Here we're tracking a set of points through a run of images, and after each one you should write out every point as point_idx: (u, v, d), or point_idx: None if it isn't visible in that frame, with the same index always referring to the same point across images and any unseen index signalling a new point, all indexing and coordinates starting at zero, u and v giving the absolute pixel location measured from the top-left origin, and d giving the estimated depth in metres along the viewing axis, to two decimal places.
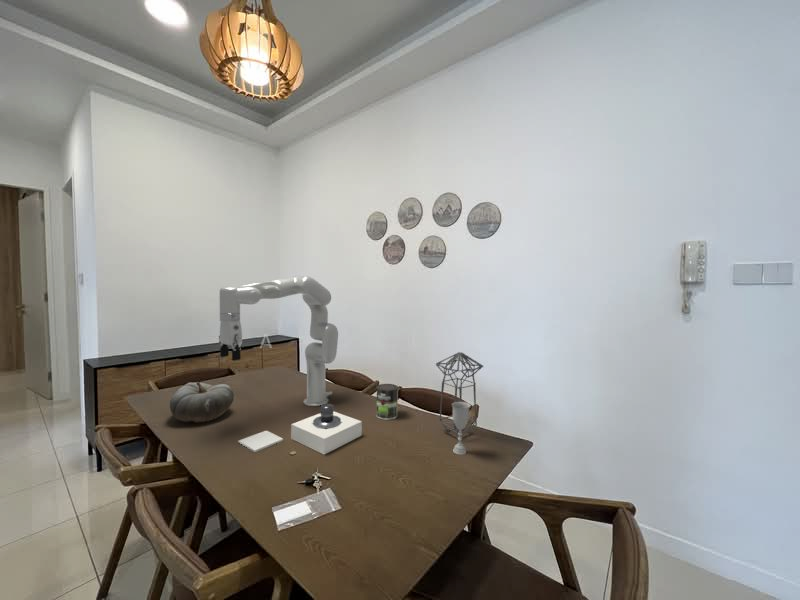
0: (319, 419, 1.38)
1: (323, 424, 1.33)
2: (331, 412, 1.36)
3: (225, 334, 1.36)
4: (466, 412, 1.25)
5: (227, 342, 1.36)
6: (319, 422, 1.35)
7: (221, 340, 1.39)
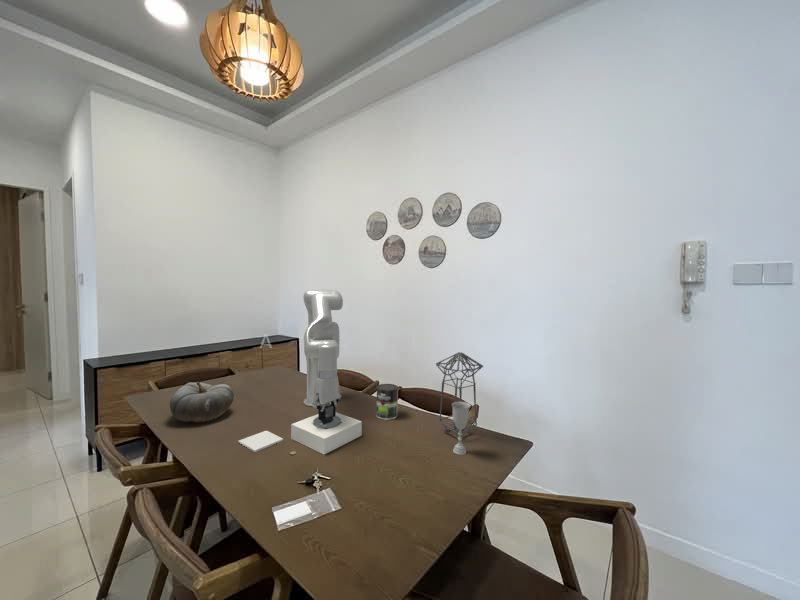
0: None
1: (323, 424, 1.33)
2: (331, 412, 1.36)
3: (333, 391, 1.36)
4: (466, 412, 1.25)
5: (334, 397, 1.37)
6: (319, 422, 1.35)
7: (325, 400, 1.33)
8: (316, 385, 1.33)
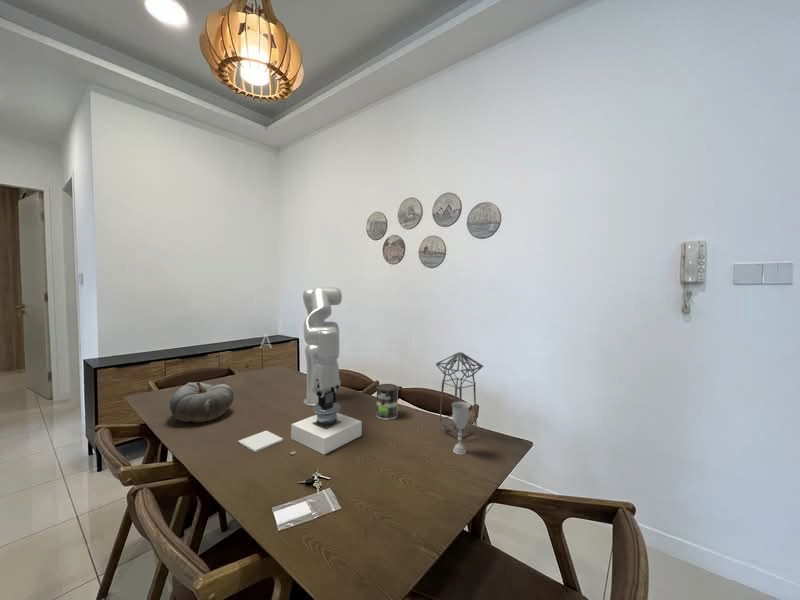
0: None
1: (323, 410, 1.33)
2: (331, 398, 1.36)
3: (333, 377, 1.36)
4: (466, 412, 1.25)
5: (334, 384, 1.37)
6: (319, 408, 1.35)
7: (325, 386, 1.33)
8: (316, 371, 1.33)
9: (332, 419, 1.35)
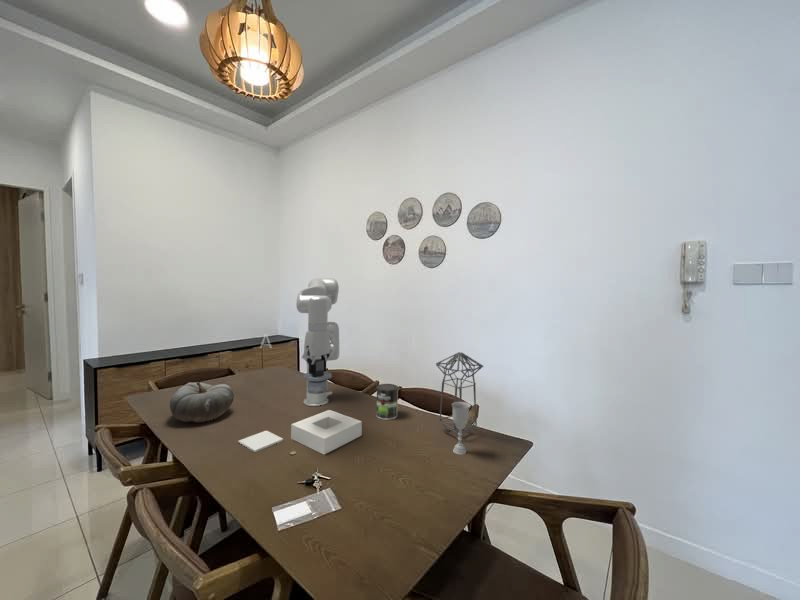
0: (309, 374, 1.36)
1: (313, 377, 1.32)
2: (322, 366, 1.34)
3: (323, 344, 1.34)
4: (466, 412, 1.25)
5: (324, 352, 1.35)
6: (309, 376, 1.33)
7: (315, 353, 1.32)
8: (306, 338, 1.31)
9: (323, 387, 1.33)
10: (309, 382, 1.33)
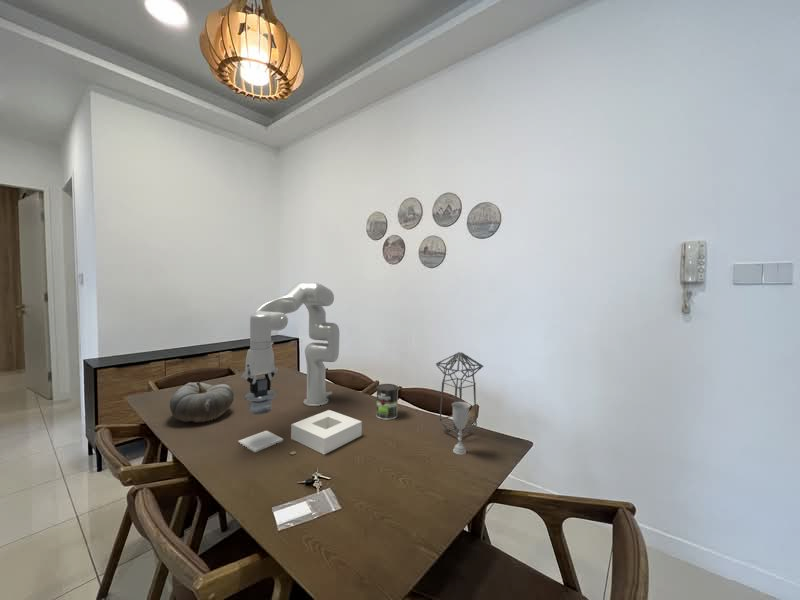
0: None
1: (254, 397, 1.27)
2: (264, 385, 1.30)
3: (266, 363, 1.30)
4: (466, 412, 1.25)
5: (268, 370, 1.31)
6: (251, 395, 1.29)
7: (256, 372, 1.27)
8: (247, 356, 1.27)
9: (265, 407, 1.29)
10: (250, 402, 1.28)
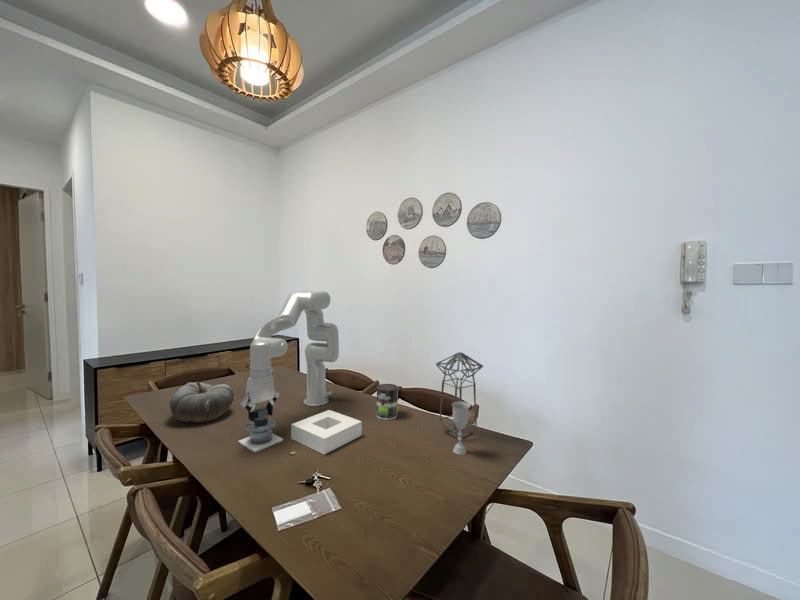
0: (253, 422, 1.33)
1: (255, 427, 1.28)
2: (264, 415, 1.31)
3: (266, 390, 1.31)
4: (466, 412, 1.25)
5: (268, 397, 1.32)
6: (252, 425, 1.30)
7: (256, 400, 1.28)
8: (247, 384, 1.28)
9: (265, 437, 1.30)
10: (251, 432, 1.29)
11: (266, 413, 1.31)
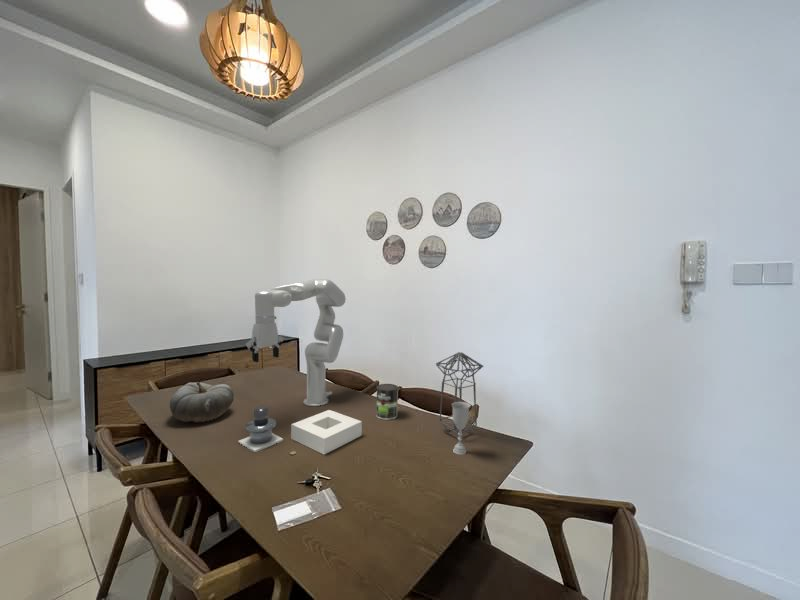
0: (253, 422, 1.33)
1: (255, 427, 1.28)
2: (264, 415, 1.31)
3: (271, 336, 1.44)
4: (466, 412, 1.25)
5: (272, 342, 1.45)
6: (252, 425, 1.30)
7: (262, 344, 1.41)
8: (253, 330, 1.41)
9: (265, 437, 1.30)
10: (251, 432, 1.29)
11: (266, 413, 1.31)
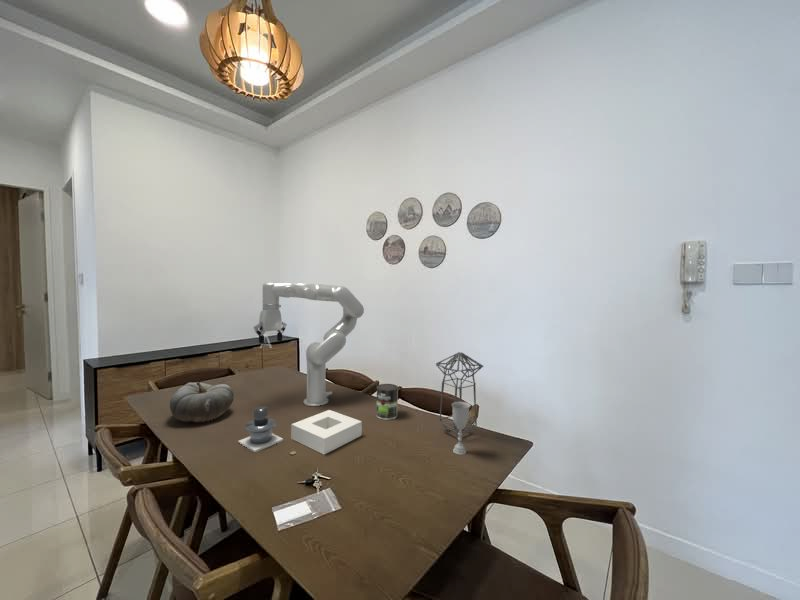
0: (253, 422, 1.33)
1: (255, 427, 1.28)
2: (264, 415, 1.31)
3: (275, 321, 1.64)
4: (466, 412, 1.25)
5: (276, 327, 1.65)
6: (252, 425, 1.30)
7: (267, 328, 1.61)
8: (260, 315, 1.61)
9: (265, 437, 1.30)
10: (251, 432, 1.29)
11: (266, 413, 1.31)
